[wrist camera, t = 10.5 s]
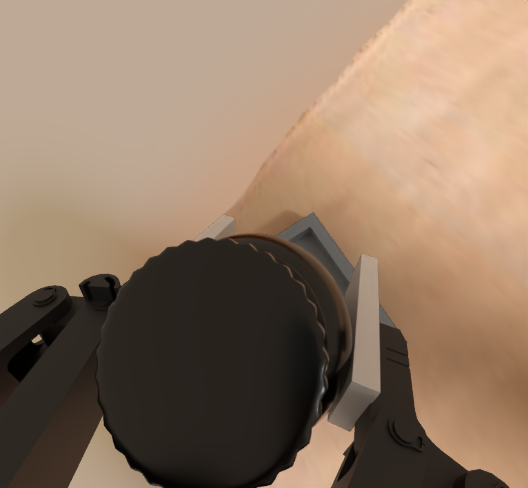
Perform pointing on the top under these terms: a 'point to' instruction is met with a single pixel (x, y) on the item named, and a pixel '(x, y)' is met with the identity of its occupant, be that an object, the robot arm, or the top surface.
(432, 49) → the top surface
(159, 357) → the supplement bottle
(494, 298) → the top surface
